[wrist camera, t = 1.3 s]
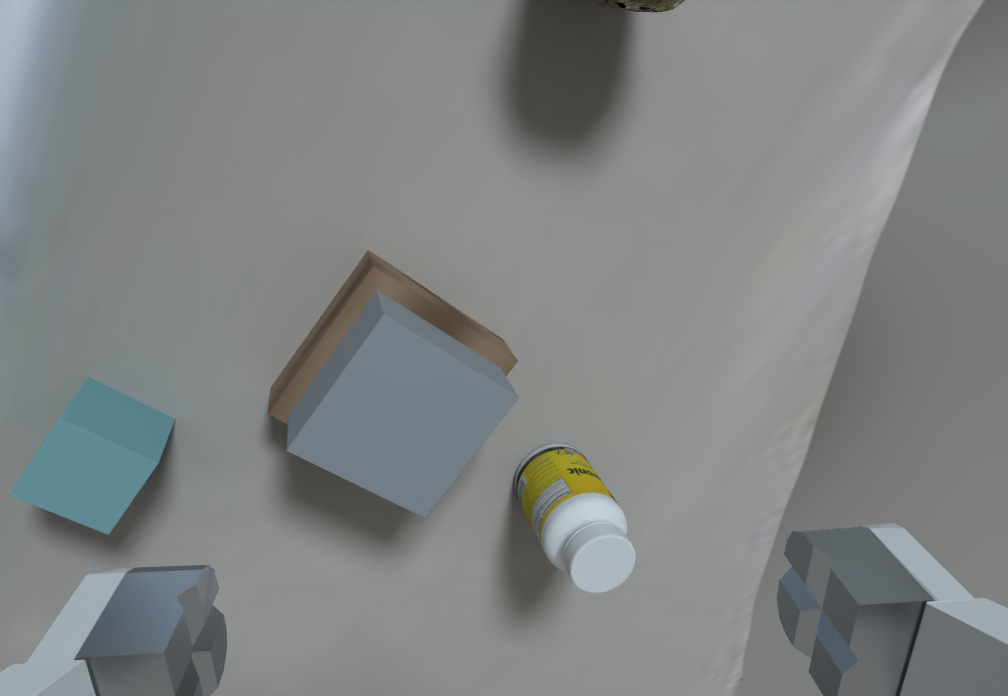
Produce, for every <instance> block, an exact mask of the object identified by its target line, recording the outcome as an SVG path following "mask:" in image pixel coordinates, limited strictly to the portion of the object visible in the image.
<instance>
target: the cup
mask: <svg viewBox="0 0 1008 696" xmlns="http://www.w3.org/2000/svg"><path fill="white" fill-rule="evenodd" d="M591 1H593V2H595V3H598V4H600V5H604V6H608V7H612V8H617V9H624V10H630V11H635V12H663V11H668V10H671V9H673V8H675V7H677V6H678V5H679V4H681V3H682V2H683V1H684V0H591Z"/></svg>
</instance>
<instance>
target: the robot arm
mask: <svg viewBox="0 0 1008 696" xmlns="http://www.w3.org/2000/svg"><path fill="white" fill-rule="evenodd" d="M784 555H785V556H786V558H787V559H788V561H789V562H790V564H791V565H792V567H791V568H790V569H789V570H788V571H787V572H786V573H785V574H784V575H783V576H782V577H781V578H780V579H779V587H778V594H777V603H778V610H779V617H780V620H781V623H782V626H783V628H784V631H785V633H786V635H787V637H788V638H789V640H790V642H791V643H792V645H793V646H794V647H795V648H796V649H798V650H800V651H801V652H803V653H804V654H806V655H807V656H809V657H810V658H811V663H810V668H809V673H810V674H811V676H812V678H813V680H814V681H815V683H816V684H817V686H818V688H819V689H820V691H821V693H822V694H823V696H1008V609H1007V608H1005V607H1003V606H1001V605H999V604H997V603H995V602H992V601H990V600H988V599H986V598H980V599H974V598H973V597H972V596H971V595H970V594H969V593H968V592H967V591H966V590H965V589H964V588H963V587H962V586H961V585H960V584H959V583H958V582H957V581H956V580H955V579H954V578H953V577H952V576H951V575H950V574H949V573H948V572H947V571H946V570H945V569H944V568H943V567H942V566H941V565H940V564H939V563H938V562H937V561H936V560H935V559H934V558H933V557H932V556H931V555H930V554H929V553H928V552H927V551H926V550H925V549H924V548H923V547H922V546H921V545H920V544H919V543H918V542H917V541H916V540H915V539H914V538H913V537H912V536H911V535H910V534H909V533H908V532H907V531H906V530H905V529H904V528H903V527H901V526H898V525H896V524H894V523H888V524H876V525H864V526H859V527H852V528H836V529H820V530H805V531H792V533H791V534H790V536H789V538H788V539H787V543H786V548H785V552H784ZM218 590H219V588H218V583H217V579H216V575H215V571H214V569H213V568H212V567H210V566H209V565H193V566H166V567H138V568H133V569H130V568H123V569H102V570H94V571H93V572H91V573H89V574H87V575H86V576H85V577H84V578H83V580H82V581H81V583H80V584H79V586H78V587H77V589H76V590H75V591H74V593H73V594H72V596H71V597H70V599H69V600H68V602H67V603H66V605H65V606H64V608H63V609H62V610H61V612H60V613H59V615H58V616H57V618H56V619H55V621H54V622H53V624H52V625H51V627H50V628H49V629H48V631H47V632H46V634H45V635H44V637H43V638H42V640H41V641H40V643H39V644H38V646H37V647H36V648H35V650H34V651H33V653H32V654H31V656H30V657H29V659H28V660H27V662H26V663H25V664H13V665H11V666H9V667H8V668H6V669H5V670H3V671H2V672H0V696H210V695H211V694H212V693H213V692H214V691H215V690H216V689H217V688H218V686H219V683H220V680H221V677H222V674H223V671H224V665H225V658H226V651H227V629H226V624H225V618H224V615H223V614H222V613H221V612H220V611H219V610H218V609H216V608H215V607H214V606H213V602H214V600H215V597H216V595H217V592H218Z"/></svg>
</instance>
